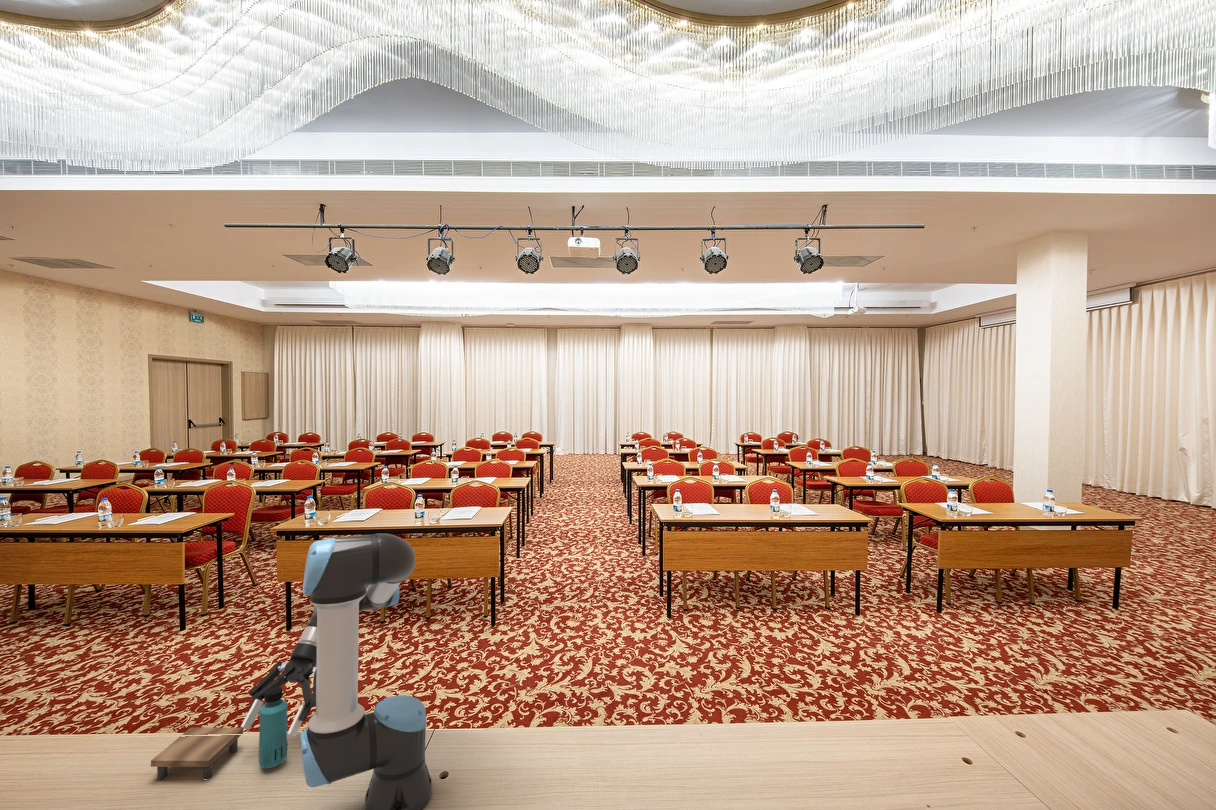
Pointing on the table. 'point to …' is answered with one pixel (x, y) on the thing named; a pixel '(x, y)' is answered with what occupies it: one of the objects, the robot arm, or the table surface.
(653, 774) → the table surface
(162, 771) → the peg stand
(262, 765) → the beverage bottle
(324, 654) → the robot arm
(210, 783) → the table surface
